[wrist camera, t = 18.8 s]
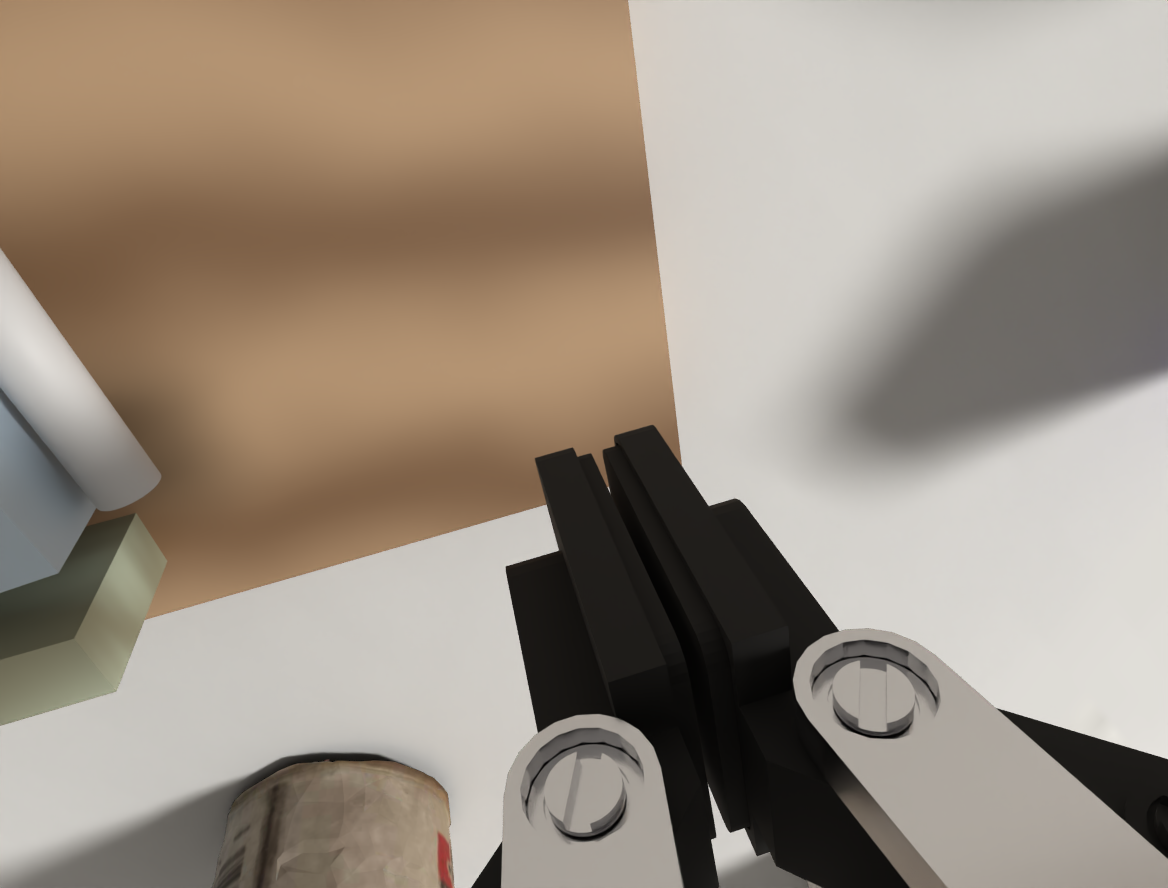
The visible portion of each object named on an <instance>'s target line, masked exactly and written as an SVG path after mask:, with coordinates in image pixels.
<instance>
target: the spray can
mask: <svg viewBox="0 0 1168 888" xmlns="http://www.w3.org/2000/svg"><path fill="white" fill-rule="evenodd" d="M321 761H323V760H321ZM231 808H232V809H231ZM231 808H230V809H231V811H230V813H229V814H228V819H227V826H226V832H225V838H224V841H223V845H222V848H221V851H220V854H219V857H218V863H217V869H216V875H215V880H214V883H213V886H212V888H454V875H453V862H452V849H451V840H450V833H449V827H450V825H451V820H450V811H449V801H448V794H447V792H446V791H445V789H444V788H443V787H442V786H441V785H440V784H439V783H438V782H437V781H436V780H435V779H434V778H433V777H431V776H428V775H427V774H425V773H423V772H421V771H418V770H416V769H413V768H410V767H408V766H405V765H402V764H400V763H397V762H393V761H335V762H330V761H329V759H327V760H324V762H313V763H297V764H294V765H291V766H289V767H286V768H284V769H281V770H279V771H277V772H276V773H274V774H272V775H271V776H269V777H267V778H266V779H264V780H262V781H261V782H259V783H257V784H256V785H254V786H252V787H251V788H249V789H247V790H245V791H244V792H243V793H242V794H241V795H240V796H239V797H238V798H237V799H236V800H235V801H234V803H233V804H232V807H231Z"/></svg>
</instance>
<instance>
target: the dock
mask: <svg viewBox="0 0 1168 888" xmlns="http://www.w3.org/2000/svg"><path fill="white" fill-rule="evenodd" d="M0 248H1V250H2V251H3V252H4V254H5V255H6V257H7V258H8V259H9V261H10V262H11V264H12V265H13V266H14V268H15V269H16V271H17V272H18V274H19V275H20V276H21V278H22V279H23V281H24V282H25V283H26V285H27V286H28V288H29V289H30V290H31V292H32V293H33V295H34V296H35V297H36V299H37V300H38V302H39V303H40V304H41V306H42V307H43V309H44V310H45V312H46V313H47V314H48V316H49V317H50V319H51V320H52V321H53V323H54V324H55V326H56V327H57V328H58V330H59V331H60V333H61V334H62V335H63V337H64V338H65V340H66V341H67V342H68V344H69V345H70V347H71V348H72V349H73V351H74V352H75V354H76V355H77V357H78V358H79V359H80V361H81V362H82V364H83V365H84V366H85V368H86V369H87V371H88V372H89V373H90V375H91V376H92V378H93V379H94V380H95V382H96V383H97V385H98V386H99V387H100V389H101V390H102V392H103V393H104V395H105V396H106V397H107V399H108V400H109V402H110V403H111V404H112V406H113V407H114V409H115V410H116V411H117V413H118V414H119V416H120V417H121V418H122V420H123V421H124V423H125V424H126V425H127V427H128V428H129V430H130V431H131V432H132V434H133V435H134V437H135V438H136V440H137V441H138V442H139V444H140V445H141V447H142V448H143V449H144V451H145V452H146V454H147V455H148V456H149V458H150V459H151V461H152V462H153V463H154V465H155V466H156V468H157V469H158V470H159V472H160V473H161V480H160V482H159V483H158V484H157V486H156V487H155V488H154V489H153V490H151V491H150V492H149V493H148V494H146V495H145V496H144V497H142V498H140V499H139V500H137V501H135V502H133V503H131V504H129V505H127V506H125V507H122V508H119V509H116V510H112V511H100V510H98V509H97V508H96V509H95V511H94V513H93V515H92V516H91V518H90V520H89V522H88V523H87V525H86V527H85V528H84V530H83V532H82V534H81V535H80V537H79V539H78V541H77V542H76V544H75V546H74V547H73V549H72V551H71V553H70V554H69V556H68V558H67V560H66V561H65V563H64V565H63V566H62V568H61V570H60V572H59V573H58V574H55V575H52V576H49V577H46V578H43V579H40V580H37V581H34V582H31V583H28V584H25V585H22V586H19V587H16V588H14V589H11V590H8V591H5V592H2V593H0V726H1V725H5V724H8V723H11V722H15V721H18V720H21V719H25V718H28V717H32V716H35V715H38V714H42V713H45V712H48V711H52V710H55V709H59V708H62V707H65V706H69V705H72V704H75V703H79V702H82V701H86V700H89V699H92V698H96V697H99V696H102V695H106V694H109V693H112V692H116V691H117V689H118V686H119V684H120V681H121V678H122V676H123V673H124V671H125V668H126V666H127V663H128V661H129V658H130V656H131V653H132V650H133V648H134V645H135V643H136V640H137V638H138V635H139V633H140V630H141V627H142V625H143V622H144V620H146V619H149V618H153V617H156V616H159V615H163V614H166V613H170V612H173V611H177V610H180V609H184V608H187V607H191V606H194V605H198V604H201V603H205V602H208V601H212V600H215V599H219V598H222V597H226V596H229V595H233V594H236V593H240V592H243V591H247V590H250V589H254V588H257V587H261V586H264V585H267V584H271V583H274V582H278V581H281V580H285V579H288V578H292V577H295V576H299V575H302V574H306V573H309V572H313V571H316V570H320V569H323V568H327V567H330V566H334V565H337V564H341V563H344V562H348V561H351V560H355V559H358V558H362V557H365V556H369V555H372V554H375V553H379V552H382V551H386V550H389V549H393V548H396V547H400V546H403V545H407V544H410V543H414V542H417V541H421V540H424V539H428V538H431V537H435V536H438V535H442V534H445V533H449V532H452V531H456V530H459V529H463V528H466V527H470V526H473V525H477V524H480V523H483V522H487V521H490V520H494V519H497V518H501V517H504V516H508V515H511V514H515V513H518V512H522V511H525V510H529V509H532V508H536V507H539V506H543V505H546V500H545V496H544V493H543V489H542V485H541V481H540V478H539V474H538V470H537V466H536V463H535V458H536V457H540V456H543V455H547V454H550V453H554V452H557V451H561V450H564V449H568V448H572V447H573V448H574V450H575V452H576V455H577V457H578V456H582V455H585V454H589V453H591V454H592V456H593V458H594V460H595V462H596V464H597V466H598V468H599V471H600V473H601V475H602V477H603V479H604V481H605V483H606V486H607V487H609V483H608V479H607V474H606V469H605V464H604V460H603V453H602V451H603V449H606V448H610V447H613V446H615V444H614V436H615V435H617V434H621V433H624V432H628V431H631V430H635V429H638V428H642V427H646V426H649V425H654V426H655V427H656V428H657V430H658V431H659V433H660V434H661V436H662V437H663V439H664V440H665V442H666V443H667V445H668V446H669V448H670V449H671V451H672V452H673V454H674V455H675V457H676V458H677V460H678V461H679V463H680V464H681V466H682V463H681V454H680V445H679V437H678V428H677V420H676V411H675V402H674V394H673V385H672V376H671V368H670V359H669V351H668V342H667V333H666V325H665V316H664V307H663V299H662V290H661V282H660V273H659V264H658V256H657V247H656V238H655V230H654V221H653V213H652V204H651V195H650V187H649V178H648V170H647V161H646V152H645V144H644V135H643V126H642V118H641V109H640V101H639V92H638V83H637V75H636V66H635V57H634V49H633V40H632V32H631V23H630V14H629V6H628V0H0Z"/></svg>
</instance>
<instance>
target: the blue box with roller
mask: <svg viewBox="0 0 1168 888" xmlns="http://www.w3.org/2000/svg"><path fill="white" fill-rule="evenodd" d="M160 480H161V473H160V472H159V470H158V469H157V468H156V466H155V465H154V463H153V462H152V461H151V459H150V458H149V456H148V455H147V454H146V452H145V451H144V449H143V448H142V447H141V445H140V444H139V442H138V441H137V440H136V438H135V437H134V435H133V434H132V432H131V431H130V430H129V428H128V427H127V425H126V424H125V423H124V421H123V420H122V418H121V417H120V416H119V414H118V413H117V411H116V410H115V409H114V407H113V406H112V404H111V403H110V402H109V400H108V399H107V397H106V396H105V395H104V393H103V392H102V390H101V389H100V387H99V386H98V385H97V383H96V382H95V380H94V379H93V378H92V376H91V375H90V373H89V372H88V371H87V369H86V368H85V366H84V365H83V364H82V362H81V361H80V359H79V358H78V357H77V355H76V354H75V352H74V351H73V349H72V348H71V347H70V345H69V344H68V342H67V341H66V340H65V338H64V337H63V335H62V334H61V333H60V331H59V330H58V328H57V327H56V326H55V324H54V323H53V321H52V320H51V319H50V317H49V316H48V314H47V313H46V312H45V310H44V309H43V307H42V306H41V304H40V303H39V302H38V300H37V299H36V297H35V296H34V295H33V293H32V292H31V290H30V289H29V288H28V286H27V285H26V283H25V282H24V281H23V279H22V278H21V276H20V275H19V274H18V272H17V271H16V269H15V268H14V266H13V265H12V264H11V262H10V261H9V259H8V258H7V257H6V255H5V254H4V252H3V251H2V250H1V248H0V593H2V592H5V591H8V590H11V589H14V588H16V587H19V586H22V585H25V584H28V583H31V582H34V581H37V580H40V579H43V578H46V577H49V576H52V575H55V574H58V573H59V572H60V570H61V568H62V566H63V565H64V563H65V561H66V560H67V558H68V556H69V554H70V553H71V551H72V549H73V547H74V546H75V544H76V542H77V541H78V539H79V537H80V535H81V534H82V532H83V530H84V528H85V527H86V525H87V523H88V522H89V520H90V518H91V516H92V515H93V513H94V511H95V509H96V508H97V509H98V510H100V511H112V510H116V509H119V508H122V507H125V506H127V505H129V504H131V503H133V502H135V501H137V500H139V499H140V498H142V497H144V496H145V495H146V494H148V493H149V492H150V491H151V490H153V489H154V488H155V487H156V486H157V484H158V483H159V482H160Z"/></svg>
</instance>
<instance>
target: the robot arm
mask: <svg viewBox="0 0 1168 888" xmlns="http://www.w3.org/2000/svg"><path fill="white" fill-rule="evenodd" d="M614 444H615V446H613V447H610V448H606V449H603V451H602V453H603V460H604V464H605V469H606V474H607V479H608V483H609V488H610V492H609V490H608V488H607V486H606V483H605V481H604V479H603V477H602V475H601V473H600V471H599V468H598V466H597V464H596V462H595V460H594V458H593V456H592V454H591V453H589V454H585V455H582V456H578V457H577V455H576V452H575V450H574V448H573V447H572V448H568V449H564V450H561V451H557V452H554V453H550V454H547V455H543V456H540V457H536V458H535V463H536V466H537V470H538V474H539V478H540V481H541V485H542V489H543V493H544V496H545V500H546V504H547V507H548V511H549V515H550V518H551V522H552V526H553V530H554V533H555V537H556V541H557V544H558V548H559V551H557V552H553V553H550V554H547V555H543V556H540V557H536V558H533V559H530V560H526V561H523V562H520V563H516V564H513V565H510V566H506V574H507V580H508V585H509V590H510V595H511V600H512V605H513V610H514V615H515V620H516V625H517V630H518V635H519V640H520V645H521V650H522V655H523V660H524V665H525V670H526V675H527V680H528V685H529V690H530V695H531V700H532V705H533V710H534V715H535V720H536V725H537V730H538V734H536V735H535V736H534V737H533V738H532V739H531V740H530V741H529V742H528V743H527V744H526V745H525V746H524V747H523V749H522V750H521V751H520V752H519V753H518V755H517V757H516V759H515V761H514V763H513V765H512V767H511V768H510V770H509V772H508V776H507V781H506V786H505V792H504V799H503V838H502V843H501V844H500V846H499V847H498V849H497V850H496V852H495V853H494V855H493V856H492V857H491V859H490V860H489V862H488V863H487V865H486V866H485V868H484V869H483V871H482V872H481V874H480V875H479V877H478V878H477V880H476V881H475V883H474V884H473V886H472V887H471V888H719V883H718V877H717V871H716V866H715V860H714V854H713V849H712V843H711V839H714V838H716V830H715V824H714V819H713V813H712V807H711V801H710V795H709V789H708V785H709V787H710V789H711V792H712V794H713V797H714V799H715V801H716V804H717V806H718V809H719V811H720V813H721V816H722V818H723V821H724V823H725V825H726V827H727V829H728V831H729V832H730V833H731V832H734V831H737V830H740V829H743V828H745V830H746V832H747V835H748V837H749V839H750V841H751V844H752V846H753V848H754V851H755V853H756V855H757V856H759V855H762V854H765V853H768V852H770V853H771V855H772V858H773V860H774V862H775V864H776V866H777V867H779V868H781V869H784V870H786V871H788V872H790V873H792V874H794V875H796V876H799V877H801V878H803V879H805V880H807V883H808V885H809V887H810V888H1168V759H1165V758H1162V757H1158V756H1155V755H1152V754H1148V753H1145V752H1142V751H1138V750H1135V749H1132V748H1128V747H1125V746H1121V745H1118V744H1115V743H1111V742H1108V741H1105V740H1101V739H1098V738H1095V737H1091V736H1088V735H1085V734H1081V733H1078V732H1075V731H1071V730H1068V729H1064V728H1061V727H1058V726H1054V725H1051V724H1048V723H1044V722H1041V721H1038V720H1034V719H1031V718H1028V717H1024V716H1021V715H1017V714H1014V713H1011V712H1007V711H1004V710H1001V709H997V708H995V707H994V706H993V705H992V704H991V703H990V702H988V701H987V700H986V699H985V698H984V697H983V696H982V695H980V694H979V693H978V692H977V691H976V690H975V689H974V688H972V687H971V686H970V685H969V684H968V683H967V682H966V681H965V680H963V679H962V678H961V677H960V676H959V675H958V674H957V673H955V672H954V671H953V670H952V669H951V668H950V667H949V666H947V665H946V664H945V663H944V662H943V661H942V660H941V659H939V658H938V657H937V656H936V655H935V654H933V653H932V652H930V651H929V650H927V649H926V648H924V647H923V646H922V645H920V644H919V643H917V642H916V641H913V640H911V639H908V638H906V637H903V636H901V635H898V634H896V633H893V632H888V631H882V630H876V629H869V628H864V629H847V630H842V631H839V630H838V629H837V627H836V626H835V625H834V623H833V622H832V621H831V619H830V618H829V617H828V615H827V614H826V613H825V611H824V610H823V609H822V607H821V606H820V605H819V603H818V602H817V601H816V599H815V598H814V597H813V595H812V594H811V593H810V591H809V590H808V589H807V587H806V586H805V585H804V583H803V582H802V581H801V579H800V578H799V577H798V575H797V574H796V573H795V571H794V570H793V569H792V567H791V566H790V565H789V563H788V562H787V561H786V559H785V558H784V557H783V555H782V554H781V553H780V551H779V550H778V549H777V547H776V546H775V545H774V543H773V542H772V541H771V539H770V538H769V537H768V535H767V534H766V533H765V531H764V530H763V529H762V527H761V526H760V525H759V523H758V522H757V521H756V519H755V518H754V517H753V515H752V514H751V513H750V511H749V510H748V509H747V507H746V506H745V505H744V504H743V503H742V502H741V501H740V500H738V499H732V500H728V501H725V502H721V503H718V504H715V505H711V506H708V505H707V503H706V502H705V500H704V499H703V497H702V496H701V494H700V493H699V491H698V490H697V488H696V487H695V485H694V484H693V482H692V481H691V479H690V478H689V476H688V475H687V473H686V472H685V470H684V469H683V467H682V466H681V464H680V463H679V461H678V460H677V458H676V457H675V455H674V454H673V452H672V451H671V449H670V448H669V446H668V445H667V443H666V442H665V440H664V439H663V437H662V436H661V434H660V433H659V431H658V430H657V428H656V427H655V426H654V425H649V426H646V427H642V428H638V429H635V430H631V431H628V432H624V433H621V434H617V435H615V436H614ZM610 493H611V494H610ZM707 782H708V783H707Z"/></svg>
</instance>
